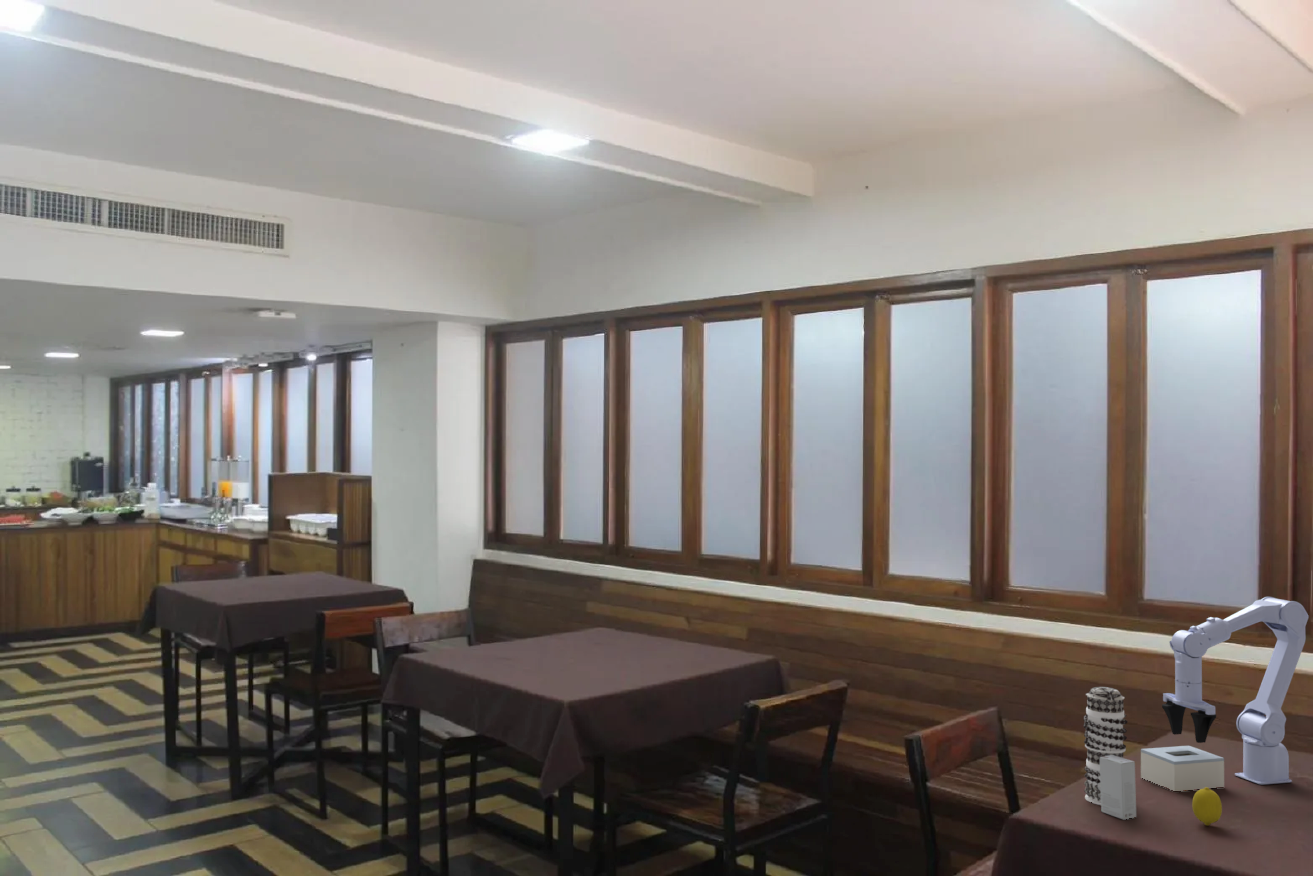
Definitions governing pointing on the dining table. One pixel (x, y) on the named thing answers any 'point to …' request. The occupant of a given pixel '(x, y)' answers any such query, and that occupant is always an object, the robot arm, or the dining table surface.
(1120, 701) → the decorative candle
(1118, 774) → the skincare box
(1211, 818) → the lemon
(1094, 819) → the dining table surface
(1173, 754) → the tissue box
